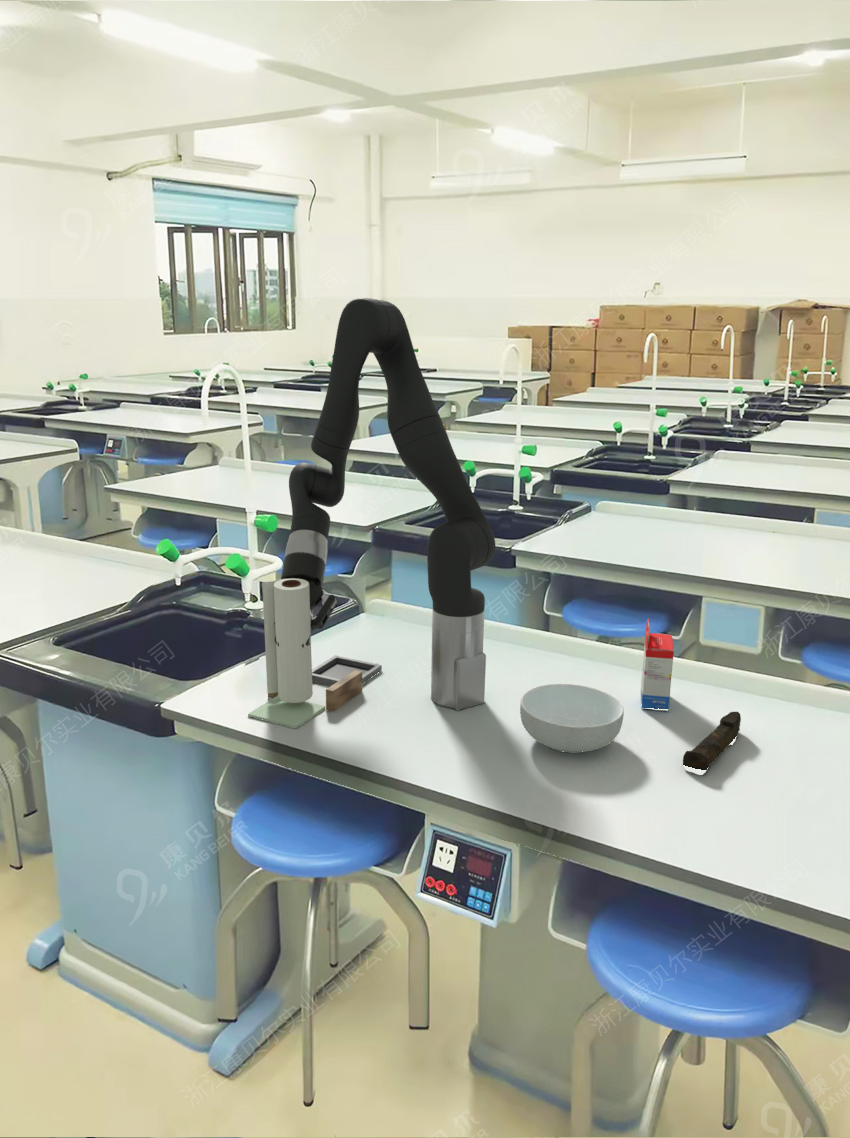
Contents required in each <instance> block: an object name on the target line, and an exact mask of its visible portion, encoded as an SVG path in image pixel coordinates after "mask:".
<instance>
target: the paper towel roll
mask: <svg viewBox="0 0 850 1138" xmlns="http://www.w3.org/2000/svg"><path fill="white" fill-rule="evenodd" d="M261 584H262V586H261V587H262V593H263V600H262V606H263V607H262V608H263V626H264V628H263V629H264V646H265V647H264V648H265V650H264V651H265V667H266V686H267V687H266V689H267V695H268V694H269V693H275V692H278V695H279V699H281V700H282V701H284V702H287V703H300V702H304V701H306V702H308V701H309V700H310V699H311V698H312V696H313V693H314V692H313V691H314V690H313V681H312V669H313V663H312V662H313V660H312V634H311V626H310V593H309V582H308V581H306V580H303V579H296V578H290V579H281V578H279V579H275V580H271V581H262V583H261ZM274 623H275V624H274ZM275 635H276V641H277V644H276V643H275ZM309 635H310V640H309V643H310V645H308V646H307V645H306V642H307V640H308V639H309ZM278 643H279V646H278ZM303 643H304V648H303V647H302V644H303Z"/></svg>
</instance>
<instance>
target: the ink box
mask: <svg viewBox="0 0 850 1138" xmlns="http://www.w3.org/2000/svg"><path fill="white" fill-rule="evenodd" d="M644 634H645V637H644V638H645V639H644V645H643V646H644V647H643V648H644V649H643V659H642V671H641V680H640V681H641V682H640V702H641V703H640V705H641V704H642V706H641V709H642V708H654V709H658V708H659V709H669V710H670V699H671V687H672V686H671V684H672V672H673V664H674V654H675V649H674V640H673V635H671V634H665V633H651V632H650V619H649V618H647V621H646V626H645V633H644Z"/></svg>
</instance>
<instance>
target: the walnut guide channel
mask: <svg viewBox="0 0 850 1138" xmlns="http://www.w3.org/2000/svg"><path fill="white" fill-rule="evenodd" d="M362 692H363V684H362V671H357V670H354V671H353V672H351V673H350V674H348V675H347V676H345V677H344V678H342V679H341V680H339V681H338V682H336V683H335V684H333V685H329V687H327V688H325V711H326V710H328V711H327V712H331V711H332V712H331V713H334V712H336V711H337V710H338V708H339V709H340V708H341V707H343V706H344V705H346V704H347V703H348V702H350V701H352V700H353V699H354V698H355V697H357V696H358V695H360V694H361V693H362ZM276 696H278V692H275V693H269V694H268V693H267V697H269V698H272V699H273V698H274V697H276ZM352 698H353V699H352ZM349 700H350V701H349Z"/></svg>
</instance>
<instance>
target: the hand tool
mask: <svg viewBox="0 0 850 1138" xmlns="http://www.w3.org/2000/svg"><path fill="white" fill-rule="evenodd" d="M741 718H742V715H741V713H740V712H739V711H730V712H728V714H726V715H723V716H722V717H721V718H720V720H719V724H718V726H716V728H715V729H714V730H713V731H711V732H710V733H709V734H708V735H707V736H706V737H705V738H704V739H702V740H701V741H700V742H699V743H698V744H697V745H696V746H695V747H693V749H691V750H686V752H685V753H684V754H683V756H682V757H683V758H682V764H683V765H685V766H688V767H692V768H695V769H701V770H707V768H708V767H709V768H711V765H712V764H713V763H714V762H715V761H716V760H717V758H718V757H720V756H721V754H722V753H723V752H724V751H725V750H726V749H727V748H728V747H729V746H728V745H729V744H730V743H731V742H732V741H733V739H735V737H736V736H737V734H738V735H739V731H740V730H741V728H740V726H741V721H742V719H741ZM727 746H728V747H727ZM726 747H727V748H726ZM725 748H726V749H725ZM724 749H725V750H724ZM719 755H720V756H719ZM715 759H716V760H715ZM713 761H714V762H713ZM712 762H713V763H712ZM683 765H682V766H683ZM709 768H708V769H709ZM707 771H708V770H707Z"/></svg>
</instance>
